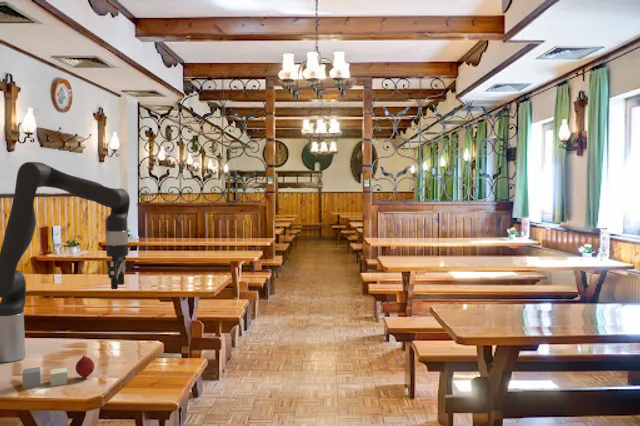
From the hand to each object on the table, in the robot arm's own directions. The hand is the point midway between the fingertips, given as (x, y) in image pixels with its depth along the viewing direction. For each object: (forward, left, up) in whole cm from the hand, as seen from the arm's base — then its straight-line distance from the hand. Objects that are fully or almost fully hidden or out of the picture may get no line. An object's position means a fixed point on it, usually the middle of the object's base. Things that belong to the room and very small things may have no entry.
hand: (117, 286), depth 206 cm
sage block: (-12, -23, -28) cm, 38 cm away
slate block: (-19, -25, -28) cm, 42 cm away
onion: (-5, -19, -28) cm, 34 cm away
